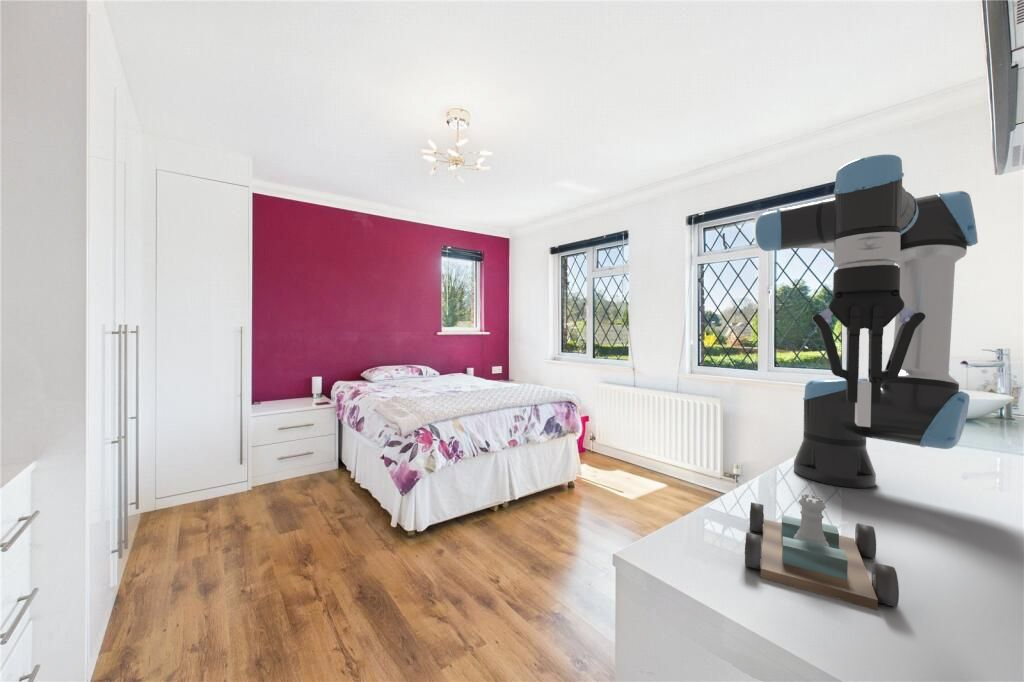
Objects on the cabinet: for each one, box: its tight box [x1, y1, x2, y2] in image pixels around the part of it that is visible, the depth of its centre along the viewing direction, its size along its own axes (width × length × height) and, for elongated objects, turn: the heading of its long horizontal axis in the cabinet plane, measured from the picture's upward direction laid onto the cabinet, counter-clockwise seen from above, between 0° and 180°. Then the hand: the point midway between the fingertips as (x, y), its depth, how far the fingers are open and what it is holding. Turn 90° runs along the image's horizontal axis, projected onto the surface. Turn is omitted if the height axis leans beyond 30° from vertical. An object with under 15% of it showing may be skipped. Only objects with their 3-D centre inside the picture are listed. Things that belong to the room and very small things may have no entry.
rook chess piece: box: [793, 493, 829, 547], centre depth 60 cm, size 4×4×8 cm
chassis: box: [744, 502, 900, 611], centre depth 60 cm, size 18×16×4 cm
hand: (862, 424), depth 62 cm, fingers closed
